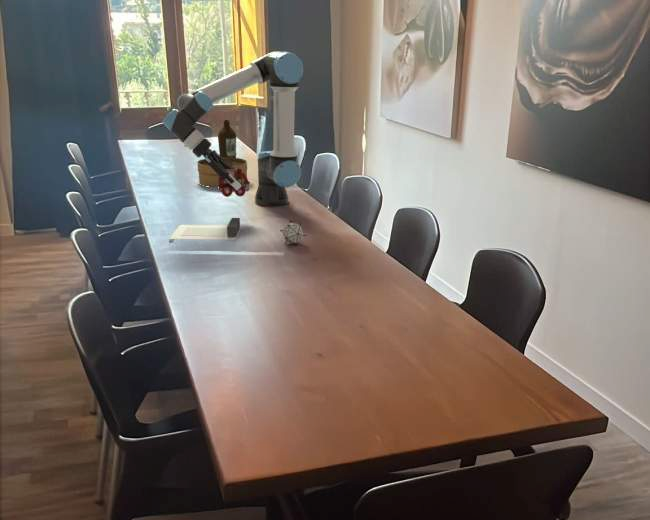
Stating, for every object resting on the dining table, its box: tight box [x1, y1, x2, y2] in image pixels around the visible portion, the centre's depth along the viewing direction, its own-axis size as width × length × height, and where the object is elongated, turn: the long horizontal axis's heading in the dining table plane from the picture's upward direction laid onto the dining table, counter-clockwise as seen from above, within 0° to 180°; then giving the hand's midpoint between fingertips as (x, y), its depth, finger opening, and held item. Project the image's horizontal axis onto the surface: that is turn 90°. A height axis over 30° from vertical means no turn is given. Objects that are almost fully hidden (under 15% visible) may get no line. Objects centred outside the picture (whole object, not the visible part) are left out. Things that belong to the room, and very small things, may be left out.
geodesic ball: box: [279, 220, 307, 247], centre depth 224 cm, size 9×8×10 cm
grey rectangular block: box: [227, 217, 241, 238], centre depth 233 cm, size 3×12×4 cm, turn 179°
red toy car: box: [217, 168, 250, 198], centre depth 246 cm, size 7×12×10 cm, turn 100°
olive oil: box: [217, 118, 237, 158], centre depth 364 cm, size 11×11×25 cm
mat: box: [168, 224, 242, 243], centre depth 234 cm, size 24×18×1 cm
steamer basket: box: [196, 157, 248, 188], centre depth 315 cm, size 25×25×11 cm
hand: (240, 185), depth 247 cm, fingers closed on red toy car, 7 cm apart
